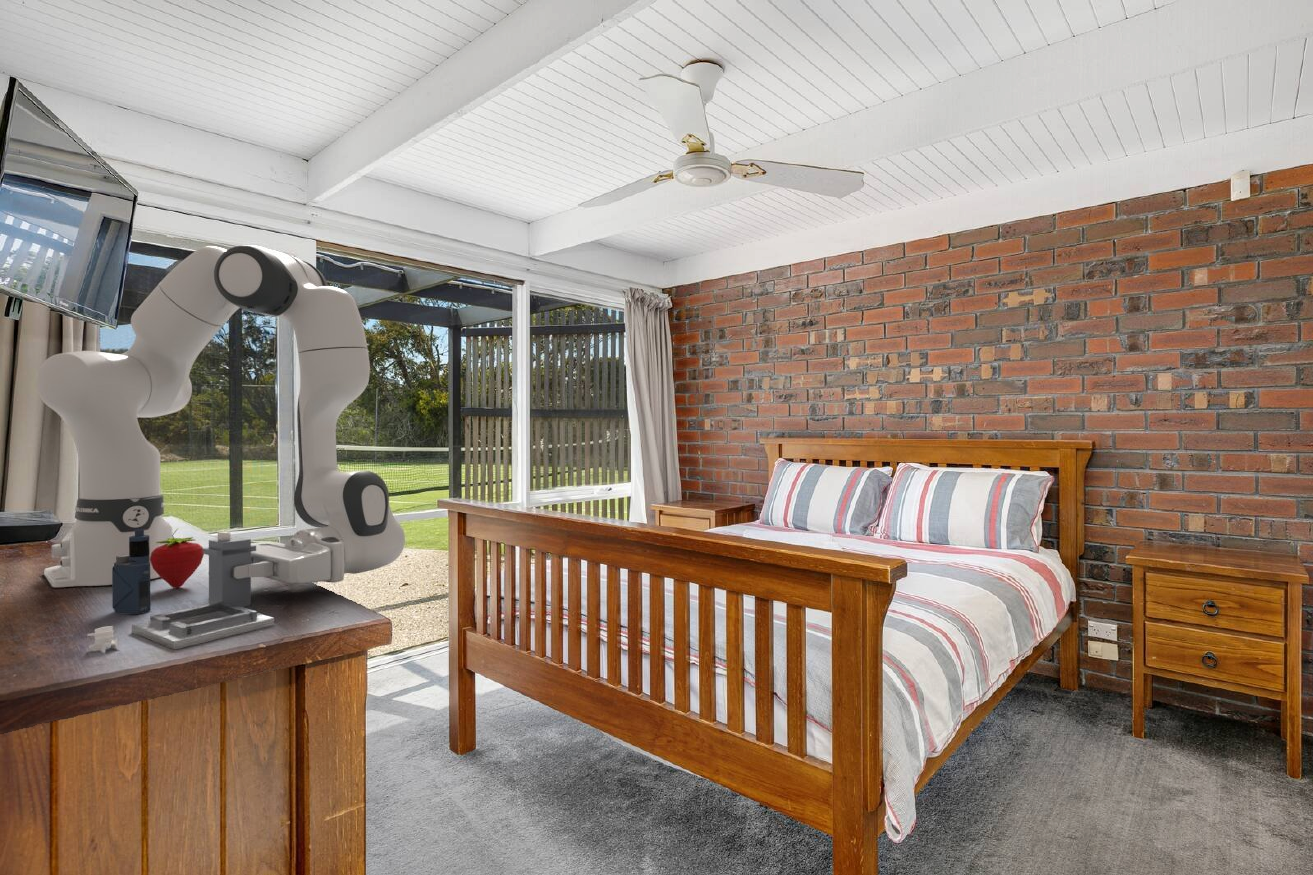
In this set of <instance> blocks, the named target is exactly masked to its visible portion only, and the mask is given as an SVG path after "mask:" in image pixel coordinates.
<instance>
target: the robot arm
mask: <svg viewBox="0 0 1313 875" xmlns="http://www.w3.org/2000/svg"><path fill="white" fill-rule="evenodd" d="M239 309H242V310H244V311H246V312H251V313H256V314H260V315H264V316H269V317H275V318H276V317H277V318H278V317H279V318H281V317H282V318H284V319H285V320H287V322H288V323H289V324H290V325H291V326H292V329H293V331H294V334H295V338H296V339H295V340H296V341H295V342H296V348H297V353H298V354H297V355H298V356H297V357H298V363H299V377H300V379H299V380H300V382H299V383H300V384H299V394H298V399H297V406H296V407H297V408H296V410H297V411H296V415H297V416H296V417H297V418H296V420H297V422H296V423H297V442H298V444H297V445H298V467H299V468H298V470H299V471H298V477H297V482H296V486H295V490H294V495H293V502H294V503H293V504H294V509H295V511H296V514H297V515H298V517H299V518H300V519H301V520H302V521H303V522H304V523H305V524H307V525H309V526H310V527H313V528H307V529H300V530H298V531H296V532H295V533H294V534H293V536H292V537H291V539H289V540H287V541H286V543H282V542H278V541H277V542H276V541H261V542H260V541H259V542H251V545H255V546H256V551H252V552H251V564H246V565H245V564H241V565H234V566H232V567H231V577H233V578H237V579H240V578H246V577H251V578H265V579H269V580H274V581H278V582H282V583H286V584H289V585H304V584H313V583H320V582H323V583H332V584H333V583H339V582H343V581H344V576H345V574H350V575H351V574H352V575H356V574H363V573H366V572H369V571H370V572H371V571H375V570H377V569H381V568H383V567H386V566H388V565H391V564H392V563H394V562H396V560H397V559H398V558H399V557H400V556H401V555H402V553H403V551H404V548H405V543H406V535H405V530H404V528H403V526H402V525H401V523H400V522H398V520H397V519H396V518H395V516H394V514H393V512H392V508H391V506H390V492H389V488H388V486H387V484H386V482H385V480H384V479H383V478H382V477H381V476H380V475H379V474H377V473H375V472H373V471H370V470H354V471H352V470H351V471H350V470H349V471H343V472H342V471H340V469H339V466H338V459H337V457H338V454H337V433H336V432H337V430H336V428H337V424H338V420H339V417H341V416H340V415H341V414H342V413H343V412H344V410H345V409H346V408H347V407H348V406H349V405H350V404H351V403H353V402H354V401H355V400H356V399H358V398H359V397H360V396H361V395H362V393H363V392H364V391H365V390H366V388H367V386H368V384H369V381H370V374H371V373H370V372H371V366H370V365H371V364H370V358H369V350H368V343H367V337H366V333H365V327H364V324H363V320H362V317H361V313H360V311H359V308H358V305H357V303H356V300H355V299H354V297H353V296H352V295H351V293H349V292H348V291H346V290H344V289H342V288H338V287H336V286H329V285H328V282H327V279H326V277H325V276H324V275H323V273H321V271H320V270H319V269H318V268H317V267H315V266H314V265H313V264H311V263H310V262H307V261H305V260H301V259H299V258H298V257H295V256H294V255H291V254H289V253H286V252H282V251H276V250H272V249H268V248H266V247H263V246H259V245H252V244H250V245H249V244H246V245H244V244H243V245H237V246H233V247H231V248H229V249H225V248H222V247H218V246H214V245H213V246H212V245H208V246H202V247H200V248H198V249H196V250H195V251H193V252H192V253H191V254H190V255H188V256H186V257H185V258H184V259H183V260H182V261H180V262H179V263H178V264H177V265H176V266H175V267H173V268H172V270H170V271H169V272H168V274H166V275H165V277H164V278H162V279H161V281H160V282H159V283H158V284H157V285H156V287H155V288H154V289H152V291H151V292H150V293H149V295H148V296H147V297H146V298H145V299H144V300H143V302H142V303H141V304H140V305H139V306H138V307H137V308H136V309H135V310H134V311H133V313H132V315H131V317H130V324H131V328H132V331H133V332H134V334H135V338H134V341H133V344H132V345H131V346H130V348H129V349H128V350H126V351H125V352H123V353H113V352H104V351H103V352H102V351H96V350H79V351H77V350H76V351H68V352H62V353H57V354H53V355H51V356H50V357H48V358H46V359H45V360H44V361H43V362H42V364H41V365H40V366H39V368H38V369H37V373H36V377H35V387H36V391H37V394H38V396H39V398H40V400H41V401H42V402H43V403H44V404H45V405H46V406H47V407H48V408H49V409H50V410H52V411H54V412H55V413H56V414H57V415H58V416H59V417H60V418H61V419H62V420H63V422H64V423H65V426H66V427H67V429H68V431H69V432H70V434H71V436H72V439H73V441H74V444H75V447H76V451H77V455H78V469H79V495H80V496H79V498H77V499H76V500H77V501H76V505H75V507H74V508H75V509H74V511H75V513H74V514H75V515H74V519H76V520H75V522H74V524H73V526H71V528H70V530H68V532H67V533H66V535H65V536H64V537H63V539H62V540H61V541H60V543H58V544H56V543H55V544H52V545H51V559H57V558H60V562H59V563H60V565H55V566H54V565H53V566H50V567H46V568H44V571H43V574H44V577H45V578H46V579H47V581H48V583H49V584H50V586H51V588H66V587H68V588H69V587H86V586H87V587H93V586H96V587H97V586H110V585H111V586H112V568H113V567H114V563H115V562H116V556H118V555H124V554H129V537H130V536H135V530H138V529H144V535H149V540H150V557H151V553H152V551H153V550H154V549H155V548H157V547H160V546H162V545H165V544H167V543H156V542H159V541H165V540H168V539H167V538H173V536H174V534H173V533H174V531H173V525H172V524H171V523H170V522H168V521H167V520H165V518H164V517H163V516H162V515H164V514H165V501H164V495H163V494H161V454H160V451H159V449H158V448H157V447H156V446H155V445H154V444H152V443H151V442H149V440H147V439H146V437H145V435H144V433H143V431H142V430H141V426H140V424H139V420H138V419H139V418H150V419H151V418H157V417H161V416H167V415H170V414H174V413H177V412H179V411H181V410H183V409H184V408H185V407H186V406H187V405H188V403H189V402H190V400H191V397H192V392H193V385H192V382H191V379H190V373H191V370H192V367H193V365H194V363H195V362H196V359H197V358H198V356H199V355H200V353H201V352H202V351H203V349H205V348H206V346H207V345H208V344H209V343H210V342H211V340H212V339H213V338H214V337H215V336H216V334H217V333H218V332H219V331H220V330H221V329H222V327H223V326H224V325H225V324H226V323H227V321H229V319H230V318H231V317H232V315H234V314H235V313H236V312H237V311H238V310H239ZM314 527H315V528H314ZM172 535H173V536H172ZM157 578H161V577H160V576H159V575H158V574H157V573H156V571H155V570H154V569H153V567H152V564H151V561H150V580H153V579H157Z"/></svg>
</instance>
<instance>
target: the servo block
mask: <svg viewBox="0 0 1313 875" xmlns="http://www.w3.org/2000/svg"><path fill="white" fill-rule="evenodd" d="M251 543H252V540H251V538H247V537H246V538H245V537H241V536H231V531H218V532H217V538H215V539H209V540H208V547H203V554H204V555H207V556H208V604H213V603H218V602H223V601H224V602H227V603H231V604H234V605H237V606H241V607H244V608H245V607H248V606H251V605H252V602H251V601H252V591H251V590H252V580H251V579H252V577H246V578H240V579H237V578H233V577H231V567H232V566H234V565H241V564H245V565H246V564H251V552H252V551H256V546H255V545H251Z"/></svg>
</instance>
